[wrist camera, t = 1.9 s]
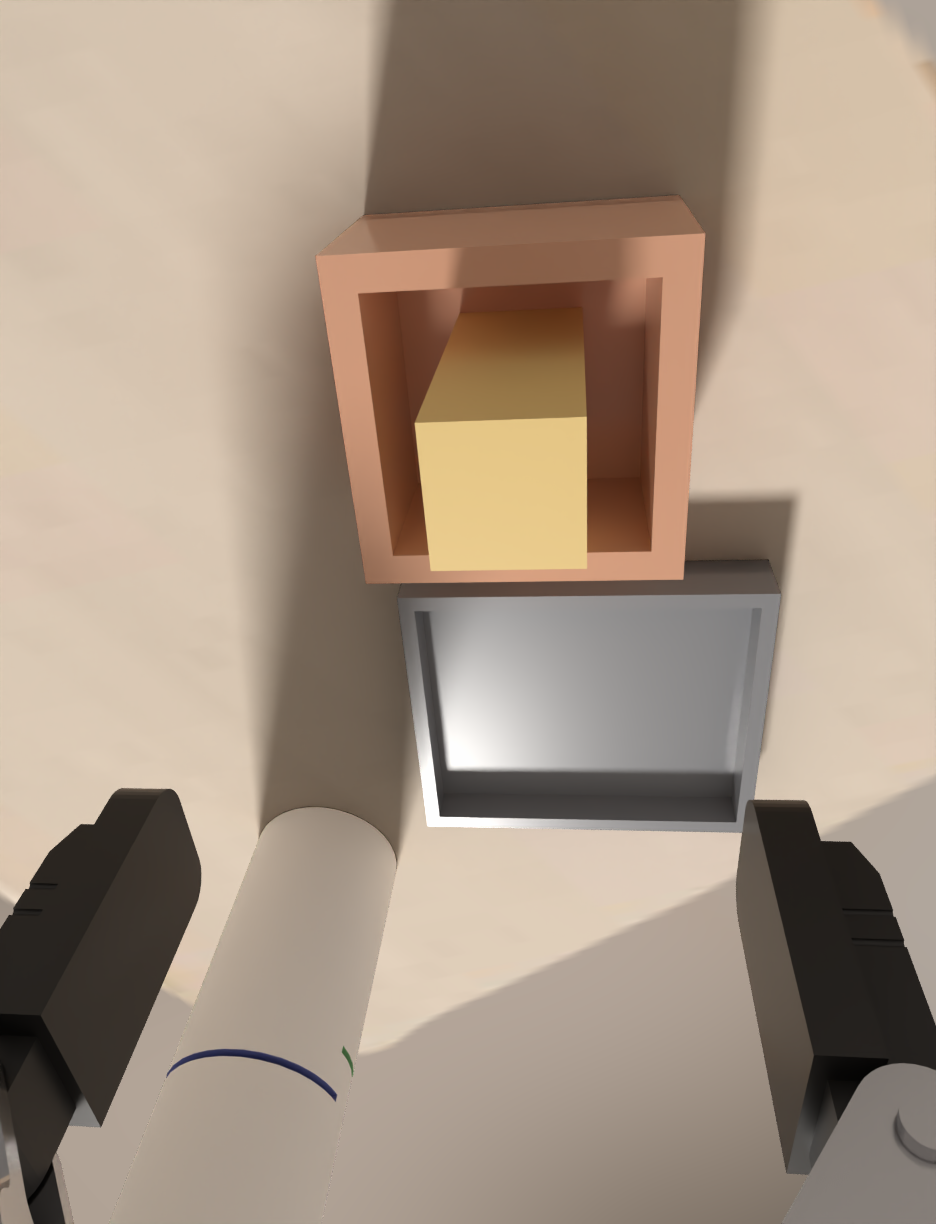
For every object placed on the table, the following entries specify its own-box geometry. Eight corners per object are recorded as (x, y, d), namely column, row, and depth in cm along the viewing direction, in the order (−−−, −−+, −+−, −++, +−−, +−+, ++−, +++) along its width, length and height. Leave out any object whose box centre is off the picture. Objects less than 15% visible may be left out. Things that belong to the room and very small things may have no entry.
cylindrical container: (340, 788, 43) (120, 1502, 22) (423, 879, 46) (299, 1588, 25) (229, 835, 46) (-63, 1517, 25) (315, 920, 48) (119, 1592, 28)
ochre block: (468, 429, 32) (430, 571, 23) (459, 313, 29) (414, 423, 21) (583, 425, 31) (587, 568, 23) (582, 307, 29) (586, 416, 21)
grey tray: (434, 787, 42) (427, 826, 40) (407, 565, 36) (396, 597, 34) (740, 791, 41) (749, 832, 39) (768, 560, 34) (781, 593, 32)
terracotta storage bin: (398, 496, 34) (366, 583, 29) (363, 215, 29) (315, 256, 24) (664, 490, 33) (683, 579, 28) (679, 195, 28) (705, 233, 22)
